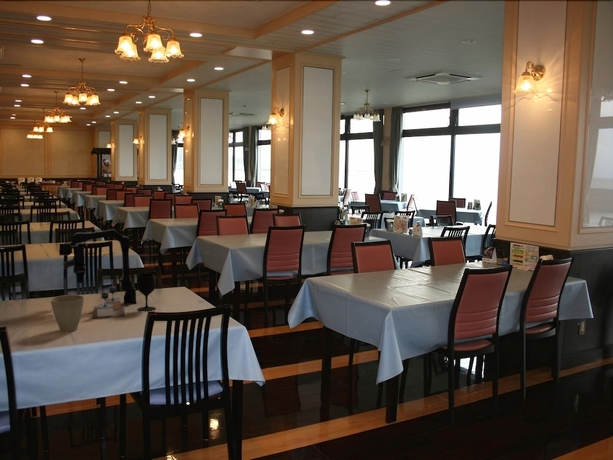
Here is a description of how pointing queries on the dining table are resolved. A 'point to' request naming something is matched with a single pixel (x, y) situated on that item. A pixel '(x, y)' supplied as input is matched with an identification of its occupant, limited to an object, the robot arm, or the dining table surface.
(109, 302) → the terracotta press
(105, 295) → the black plunger
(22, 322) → the dining table surface
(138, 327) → the dining table surface
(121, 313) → the walnut board
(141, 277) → the wine glass
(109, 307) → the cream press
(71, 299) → the plant pot
